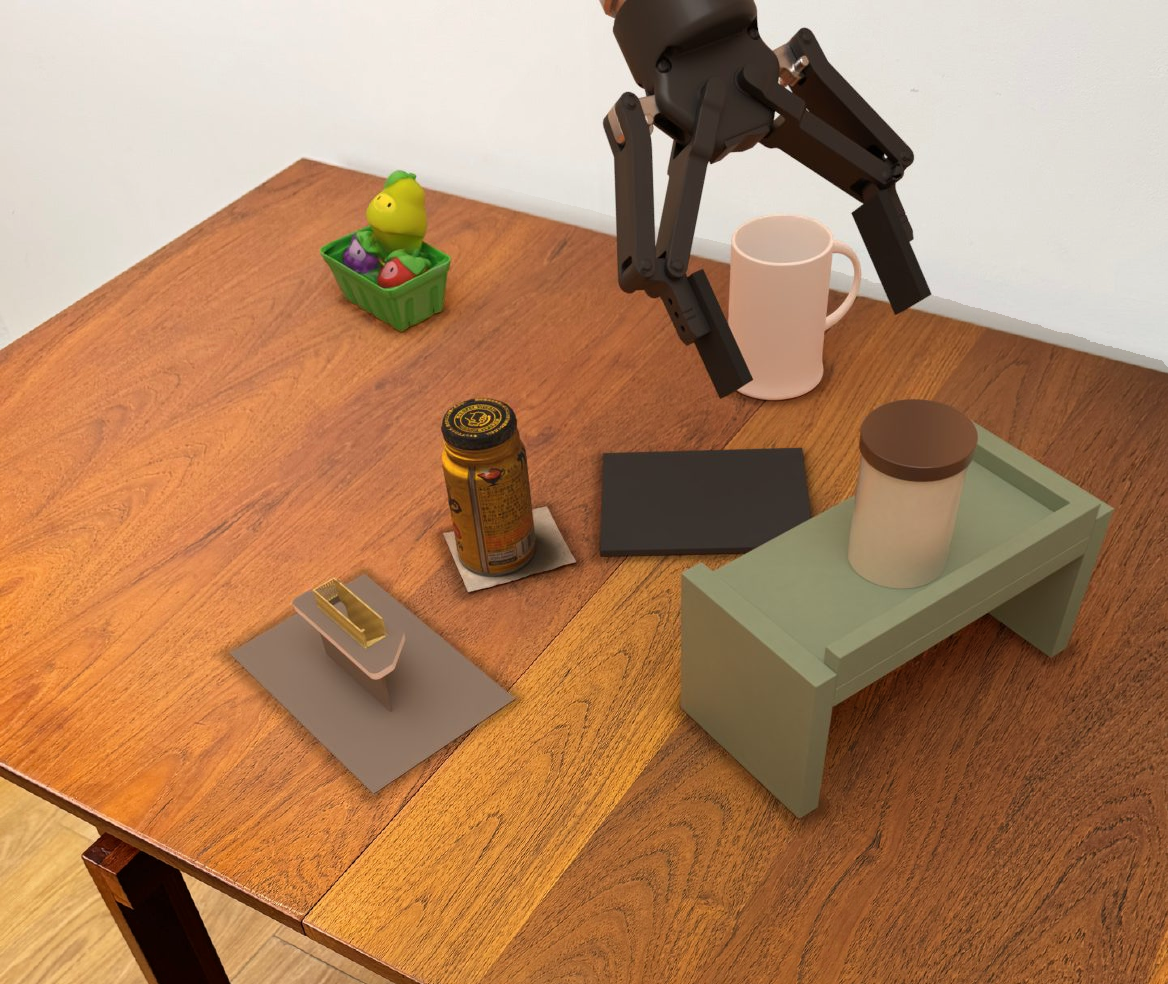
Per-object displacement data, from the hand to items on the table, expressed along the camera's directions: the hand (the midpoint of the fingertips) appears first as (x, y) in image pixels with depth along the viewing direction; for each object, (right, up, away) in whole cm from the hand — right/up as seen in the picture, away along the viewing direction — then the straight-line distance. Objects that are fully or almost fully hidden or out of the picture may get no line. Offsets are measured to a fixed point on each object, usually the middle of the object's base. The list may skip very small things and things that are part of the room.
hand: (827, 346), depth 73 cm
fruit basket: (-32, +20, +47) cm, 60 cm away
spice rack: (+6, -18, +12) cm, 23 cm away
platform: (-29, -18, +15) cm, 38 cm away
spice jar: (+5, -11, +4) cm, 13 cm away
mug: (+4, +10, +36) cm, 38 cm away
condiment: (-20, -8, +23) cm, 31 cm away
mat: (-5, -4, +25) cm, 26 cm away
